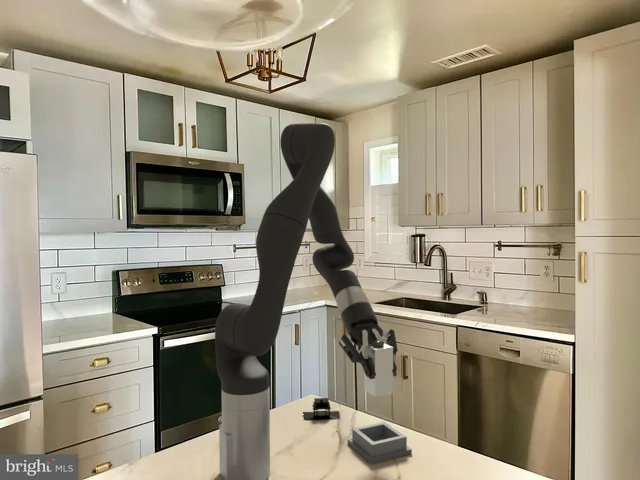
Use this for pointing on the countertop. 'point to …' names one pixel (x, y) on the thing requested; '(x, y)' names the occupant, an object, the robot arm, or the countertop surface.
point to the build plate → (321, 415)
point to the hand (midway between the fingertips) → (383, 375)
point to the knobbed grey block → (380, 369)
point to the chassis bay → (379, 442)
